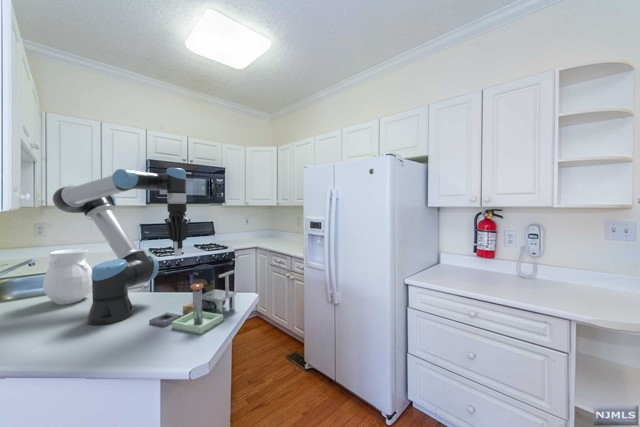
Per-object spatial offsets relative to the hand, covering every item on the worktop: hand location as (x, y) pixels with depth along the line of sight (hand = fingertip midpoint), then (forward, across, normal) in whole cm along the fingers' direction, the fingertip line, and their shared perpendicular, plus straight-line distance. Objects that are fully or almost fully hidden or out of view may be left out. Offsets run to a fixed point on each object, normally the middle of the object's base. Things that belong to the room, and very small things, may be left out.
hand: (178, 255), depth 119 cm
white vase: (+25, -60, -10) cm, 66 cm away
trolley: (+24, +18, +4) cm, 31 cm away
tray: (+24, +20, -9) cm, 33 cm away
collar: (+24, +5, -11) cm, 27 cm away
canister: (+25, +2, +13) cm, 28 cm away
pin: (+24, +20, -9) cm, 32 cm away
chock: (+25, +9, -1) cm, 26 cm away
